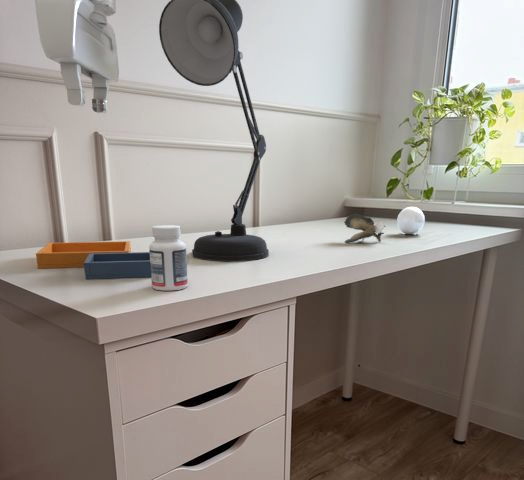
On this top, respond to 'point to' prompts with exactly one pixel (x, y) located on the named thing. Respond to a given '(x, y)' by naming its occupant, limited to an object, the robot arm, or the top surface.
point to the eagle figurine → (363, 227)
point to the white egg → (410, 220)
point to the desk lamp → (207, 74)
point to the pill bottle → (168, 259)
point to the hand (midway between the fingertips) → (89, 109)
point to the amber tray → (76, 253)
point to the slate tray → (117, 265)
